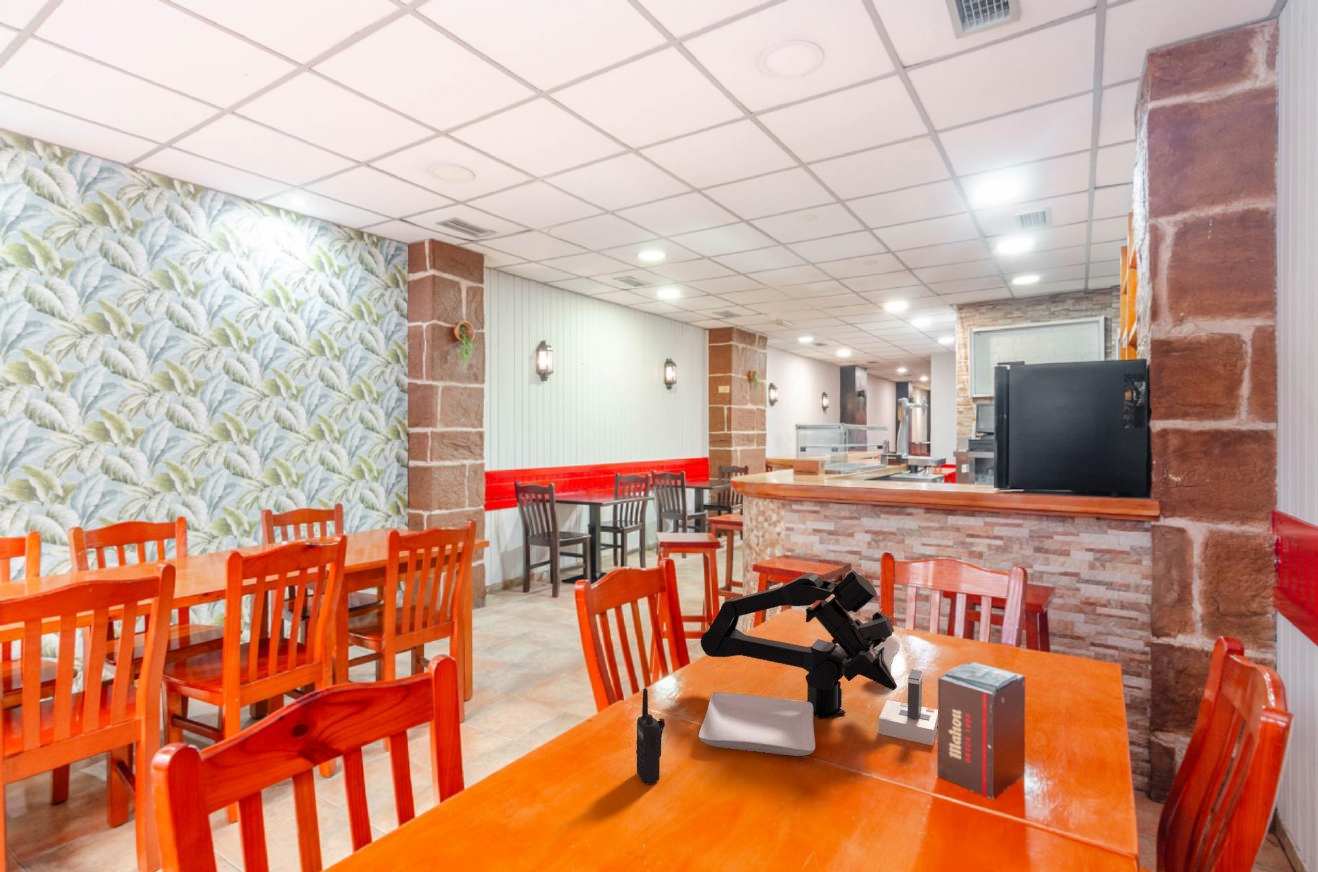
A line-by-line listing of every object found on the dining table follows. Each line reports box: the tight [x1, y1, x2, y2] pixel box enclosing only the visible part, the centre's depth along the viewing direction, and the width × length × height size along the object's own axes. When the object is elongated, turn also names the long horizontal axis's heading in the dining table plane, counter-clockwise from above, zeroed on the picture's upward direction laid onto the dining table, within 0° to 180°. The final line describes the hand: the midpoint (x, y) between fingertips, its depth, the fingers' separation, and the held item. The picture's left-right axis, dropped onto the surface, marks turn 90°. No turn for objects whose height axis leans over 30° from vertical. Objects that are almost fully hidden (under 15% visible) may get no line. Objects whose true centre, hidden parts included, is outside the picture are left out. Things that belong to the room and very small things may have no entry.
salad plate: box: [698, 691, 816, 757], centre depth 131 cm, size 21×21×3 cm
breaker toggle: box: [907, 669, 923, 719], centre depth 133 cm, size 2×5×8 cm, turn 152°
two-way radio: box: [635, 687, 666, 785], centre depth 114 cm, size 6×4×15 cm
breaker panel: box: [877, 699, 939, 746], centre depth 133 cm, size 10×10×3 cm
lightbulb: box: [874, 632, 901, 674], centre depth 161 cm, size 6×6×11 cm
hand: (895, 688), depth 135 cm, fingers closed
